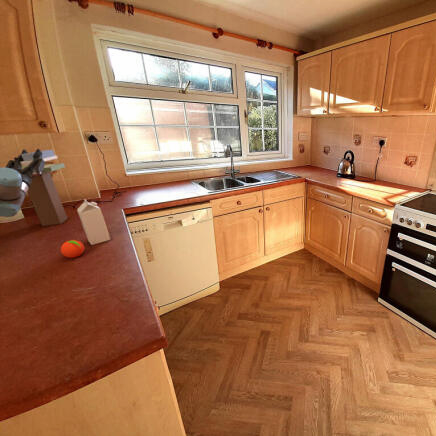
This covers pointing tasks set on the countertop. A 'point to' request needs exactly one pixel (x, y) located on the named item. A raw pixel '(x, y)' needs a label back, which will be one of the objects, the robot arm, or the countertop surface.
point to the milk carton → (93, 223)
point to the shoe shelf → (47, 197)
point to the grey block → (46, 155)
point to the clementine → (72, 248)
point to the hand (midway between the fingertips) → (32, 151)
